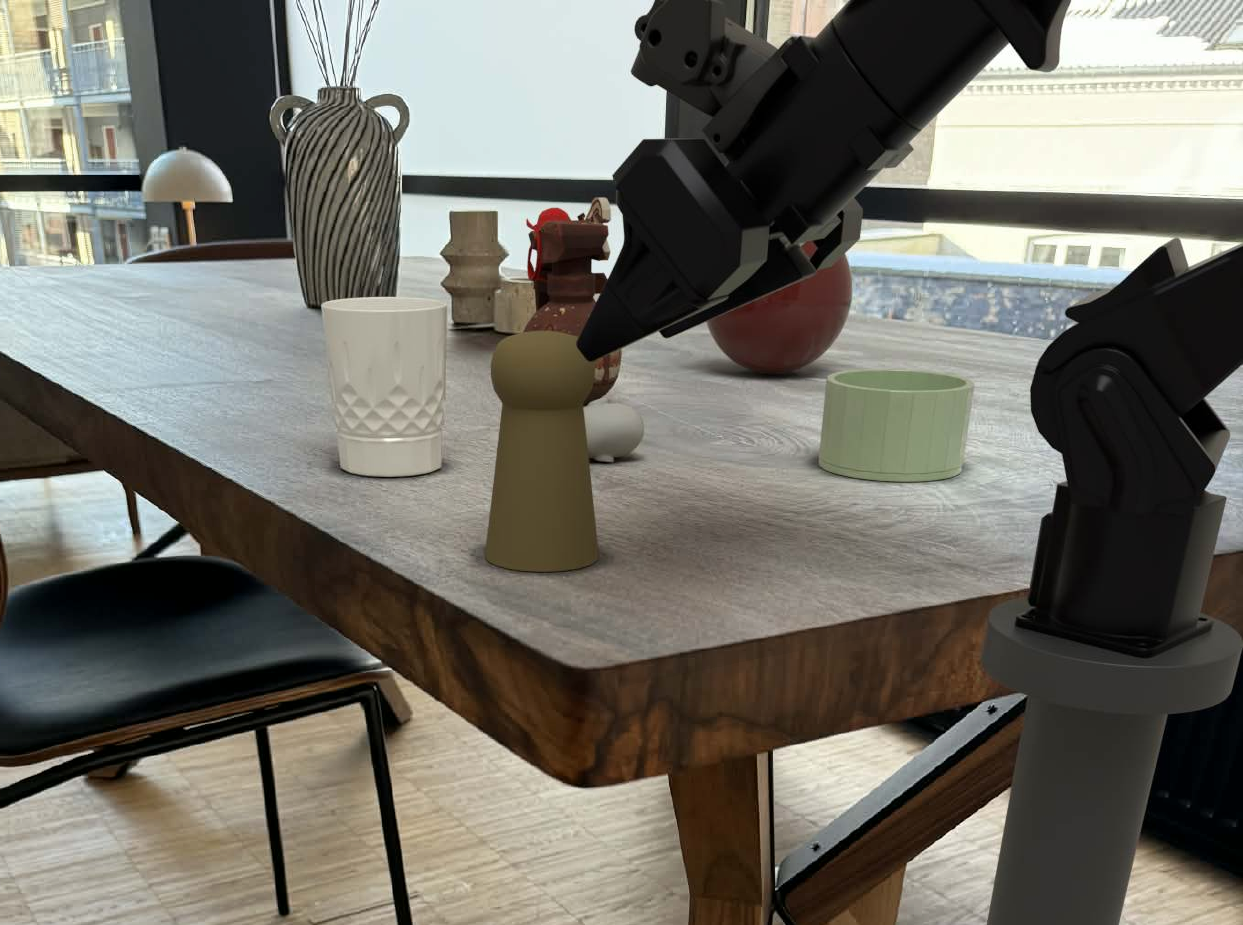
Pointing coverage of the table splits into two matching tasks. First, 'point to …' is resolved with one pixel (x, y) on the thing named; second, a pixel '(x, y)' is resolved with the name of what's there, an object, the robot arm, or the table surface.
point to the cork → (542, 456)
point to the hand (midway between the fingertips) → (623, 341)
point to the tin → (895, 424)
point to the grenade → (571, 278)
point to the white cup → (387, 382)
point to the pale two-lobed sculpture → (611, 429)
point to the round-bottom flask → (788, 321)
